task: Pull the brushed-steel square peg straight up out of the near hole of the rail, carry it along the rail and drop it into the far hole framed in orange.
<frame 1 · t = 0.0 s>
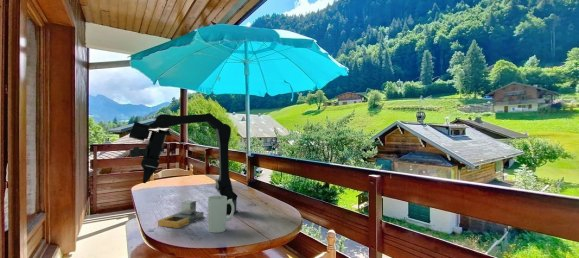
hand: (144, 181, 126), 15 cm above the table, tool pointing down, fingers open, 9 cm apart
peg: (188, 218, 129), resting in rail
rail: (182, 221, 125), on the table
mug: (221, 230, 115), on the table
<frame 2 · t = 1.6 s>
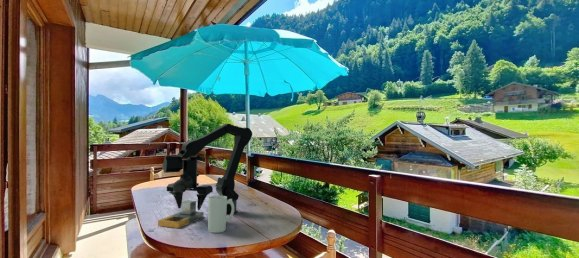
hand: (189, 209, 129), 4 cm above the table, tool pointing down, fingers open, 9 cm apart
nothing on the table moved.
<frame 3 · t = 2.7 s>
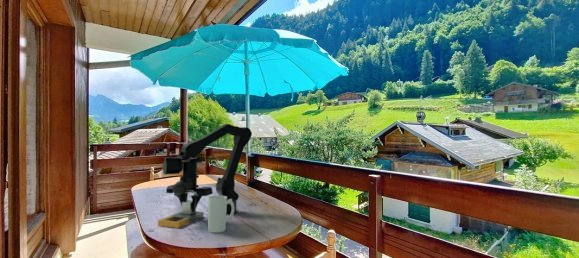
hand: (188, 210, 129), 3 cm above the table, tool pointing down, fingers closed on peg, 4 cm apart
peg: (188, 218, 129), resting in rail, touching gripper
everything else where it was.
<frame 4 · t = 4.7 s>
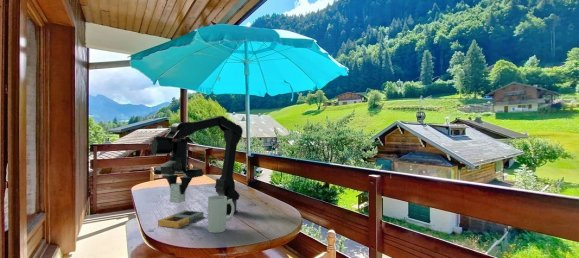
hand: (177, 193, 122), 11 cm above the table, tool pointing down, fingers closed on peg, 4 cm apart
peg: (177, 201, 122), point 8 cm above the table, touching gripper
everything else where it was.
when the fingers open (4 cm above the table, at t = 6.9 s): peg drops 1 cm, resting in rail.
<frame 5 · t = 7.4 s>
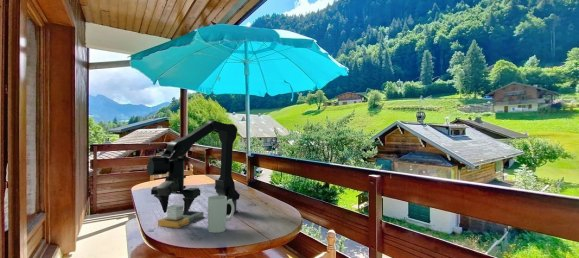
hand: (175, 213, 120), 4 cm above the table, tool pointing down, fingers open, 9 cm apart
peg: (174, 224, 120), resting in rail
everything else where it was.
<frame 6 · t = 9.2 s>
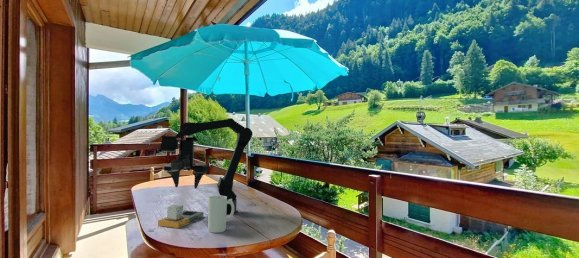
hand: (186, 187, 134), 12 cm above the table, tool pointing down, fingers open, 9 cm apart
nothing on the table moved.
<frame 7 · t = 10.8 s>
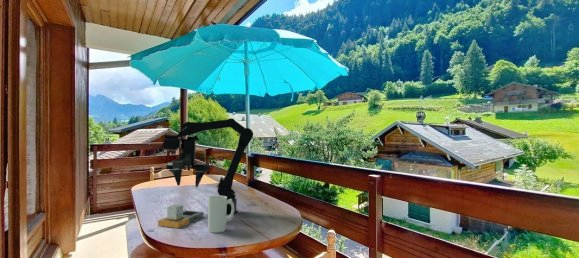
hand: (187, 186, 136), 12 cm above the table, tool pointing down, fingers open, 9 cm apart
nothing on the table moved.
at the end: peg 0.0 cm from the target spot on the rail, point 0.0 cm above the rail's base; peg tilted 0°; the gripper is holding nothing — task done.
